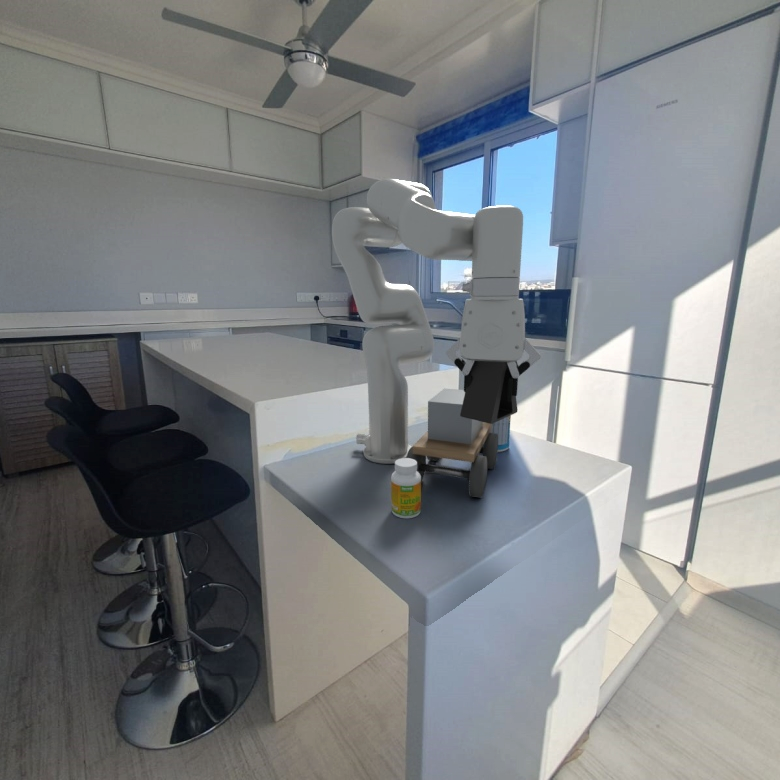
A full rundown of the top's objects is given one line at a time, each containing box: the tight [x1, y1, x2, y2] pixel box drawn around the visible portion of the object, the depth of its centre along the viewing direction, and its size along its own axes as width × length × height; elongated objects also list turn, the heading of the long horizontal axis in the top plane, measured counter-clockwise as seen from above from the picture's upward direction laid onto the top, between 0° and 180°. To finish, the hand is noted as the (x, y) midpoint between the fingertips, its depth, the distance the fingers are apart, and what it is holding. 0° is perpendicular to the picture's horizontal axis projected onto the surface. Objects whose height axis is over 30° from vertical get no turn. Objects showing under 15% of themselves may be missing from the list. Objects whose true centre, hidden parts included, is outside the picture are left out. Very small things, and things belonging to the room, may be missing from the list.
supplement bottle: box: [390, 458, 422, 519], centre depth 74 cm, size 5×5×10 cm
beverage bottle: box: [483, 415, 512, 453], centre depth 104 cm, size 8×8×20 cm
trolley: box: [406, 388, 499, 499], centre depth 88 cm, size 22×15×18 cm
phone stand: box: [460, 361, 519, 424], centre depth 70 cm, size 9×6×12 cm, turn 136°
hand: (489, 397), depth 71 cm, fingers closed on phone stand, 6 cm apart
